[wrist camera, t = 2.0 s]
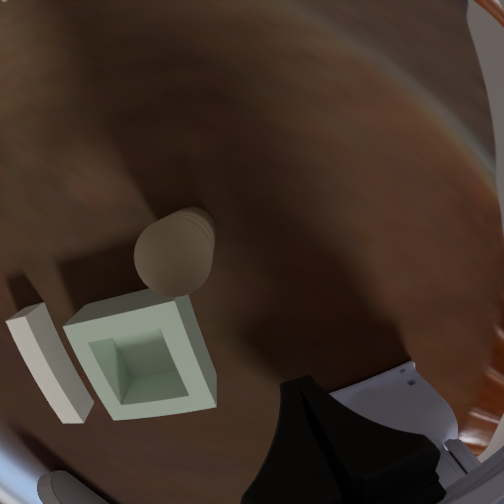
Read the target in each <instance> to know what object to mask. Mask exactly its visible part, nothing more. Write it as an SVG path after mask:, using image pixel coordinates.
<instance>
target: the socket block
mask: <svg viewBox="0 0 504 504" xmlns="http://www.w3.org/2000/svg"><path fill="white" fill-rule="evenodd" d="M63 328H64V330H65V333H66V335H67V337H68V339H69V341H70V343H71V346H72V348H73V350H74V352H75V354H76V356H77V358H78V360H79V362H80V364H81V365H82V367H83V369H84V371H85V373H86V375H87V377H88V378H89V380H90V382H91V384H92V386H93V387H94V389H95V391H96V392H97V394H98V396H99V398H100V399H101V401H102V402H103V404H104V406H105V407H106V409H107V411H108V412H109V414H110V415H111V417H112V418H113V420H125V419H137V418H147V417H155V416H163V415H171V414H178V413H184V412H191V411H197V410H202V409H208V408H213V407H216V377H217V374H216V372H215V369H214V366H213V364H212V361H211V358H210V356H209V353H208V350H207V348H206V345H205V342H204V339H203V337H202V334H201V331H200V328H199V325H198V322H197V320H196V317H195V314H194V311H193V308H192V305H191V302H190V299H189V296H188V295H185V296H180V297H169V296H164V295H161V294H159V293H157V292H155V291H153V290H152V289H150V288H148V289H144V290H141V291H137V292H133V293H129V294H125V295H121V296H117V297H113V298H109V299H105V300H101V301H97V302H93V303H89V304H86V305H85V306H84V307H83V308H81V309H80V310H79V311H78V312H77V313H76V314H75V315H74V316H73V317H72V318H71V319H70V320H69V321H68V322H67V323H66V324H65V325H64V326H63Z"/></svg>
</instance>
